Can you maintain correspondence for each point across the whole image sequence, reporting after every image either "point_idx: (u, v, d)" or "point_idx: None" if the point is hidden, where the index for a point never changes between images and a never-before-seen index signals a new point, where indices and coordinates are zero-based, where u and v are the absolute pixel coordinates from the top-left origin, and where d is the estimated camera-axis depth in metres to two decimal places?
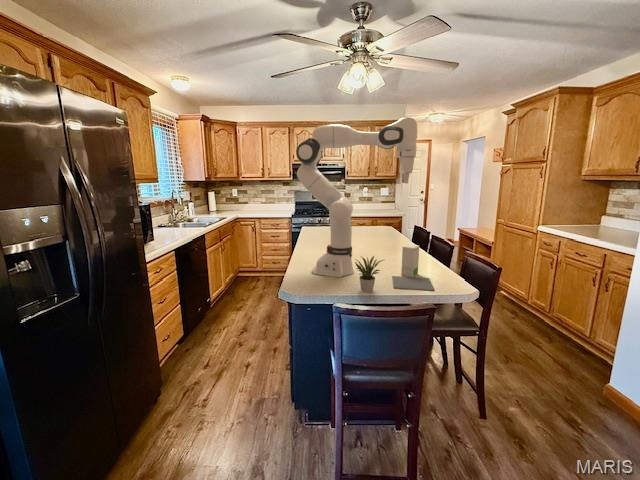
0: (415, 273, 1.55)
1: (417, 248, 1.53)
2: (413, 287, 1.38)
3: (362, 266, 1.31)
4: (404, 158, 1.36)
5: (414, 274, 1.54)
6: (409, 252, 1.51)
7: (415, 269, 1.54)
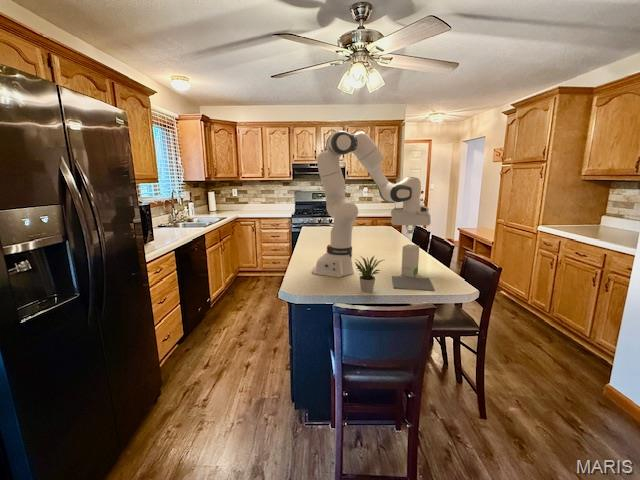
0: (415, 273, 1.55)
1: (417, 248, 1.53)
2: (413, 287, 1.38)
3: (362, 266, 1.31)
4: (428, 213, 1.57)
5: (414, 274, 1.54)
6: (409, 252, 1.51)
7: (415, 269, 1.54)
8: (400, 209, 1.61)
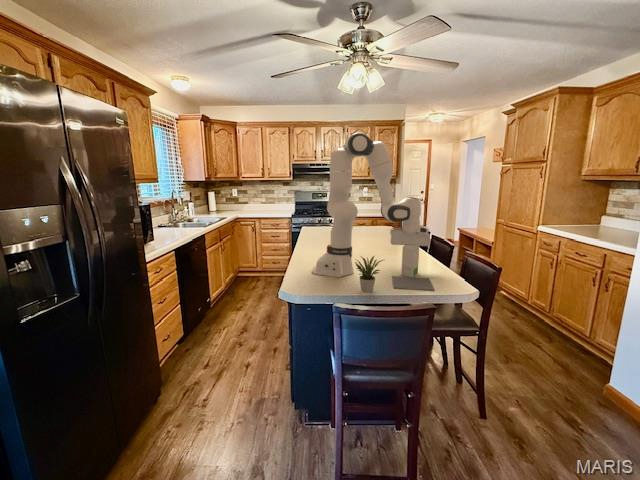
0: (415, 273, 1.55)
1: (417, 248, 1.53)
2: (413, 287, 1.38)
3: (362, 266, 1.31)
4: (428, 233, 1.55)
5: (414, 274, 1.54)
6: (409, 252, 1.51)
7: (415, 269, 1.54)
8: (399, 229, 1.59)
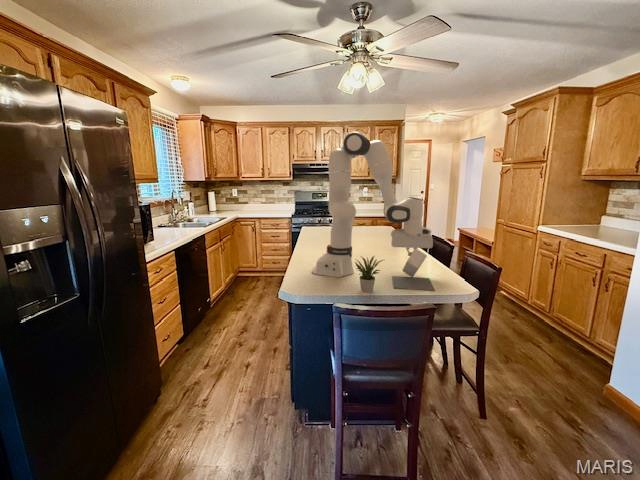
0: None
1: (423, 261, 1.40)
2: (413, 287, 1.38)
3: (362, 266, 1.31)
4: None
5: None
6: (412, 267, 1.41)
7: None
8: (401, 230, 1.52)
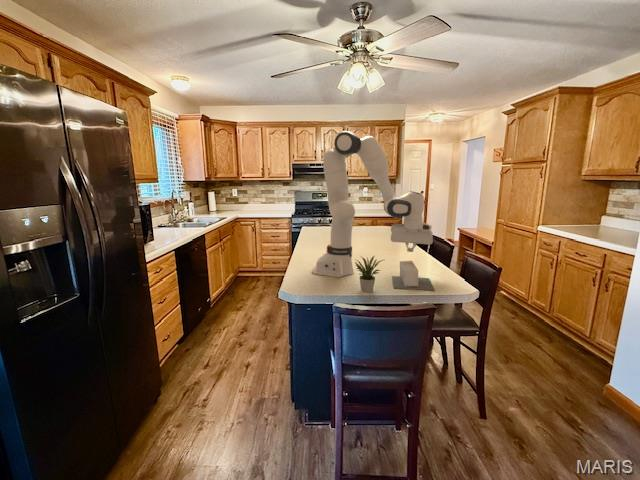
0: None
1: None
2: (413, 287, 1.38)
3: (362, 266, 1.31)
4: None
5: None
6: None
7: None
8: (401, 225, 1.50)
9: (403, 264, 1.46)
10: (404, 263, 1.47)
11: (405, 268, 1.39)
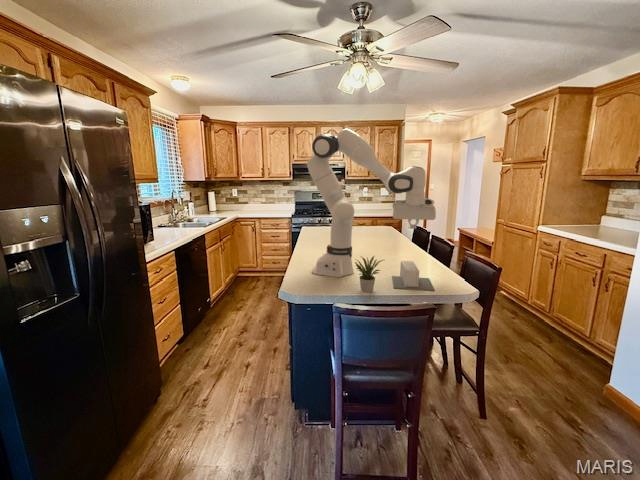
0: None
1: (418, 277, 1.38)
2: (413, 287, 1.38)
3: (362, 266, 1.31)
4: (434, 206, 1.44)
5: None
6: None
7: None
8: (403, 201, 1.47)
9: (404, 264, 1.46)
10: (406, 263, 1.46)
11: (406, 268, 1.39)
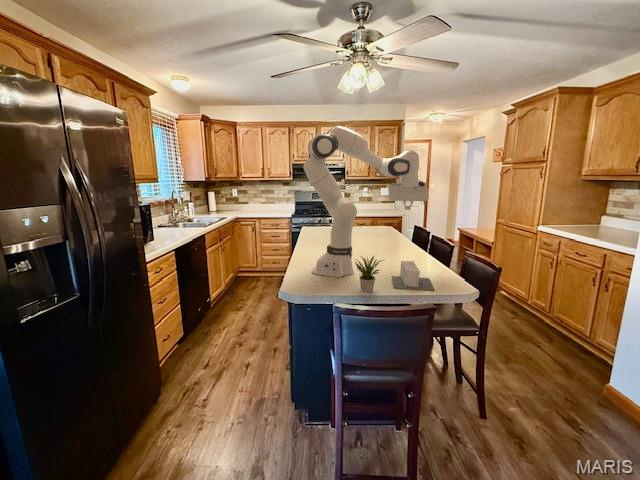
0: None
1: (418, 277, 1.38)
2: (413, 287, 1.38)
3: (362, 266, 1.31)
4: None
5: None
6: None
7: None
8: (398, 184, 1.58)
9: (405, 264, 1.46)
10: (406, 263, 1.46)
11: (407, 268, 1.39)
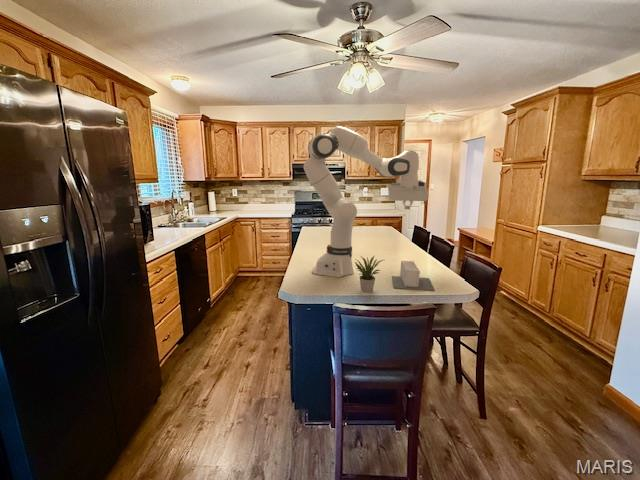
0: None
1: (418, 277, 1.38)
2: (413, 287, 1.38)
3: (362, 266, 1.31)
4: (426, 188, 1.55)
5: None
6: None
7: None
8: (397, 184, 1.58)
9: (405, 264, 1.46)
10: (406, 263, 1.46)
11: (407, 268, 1.39)
